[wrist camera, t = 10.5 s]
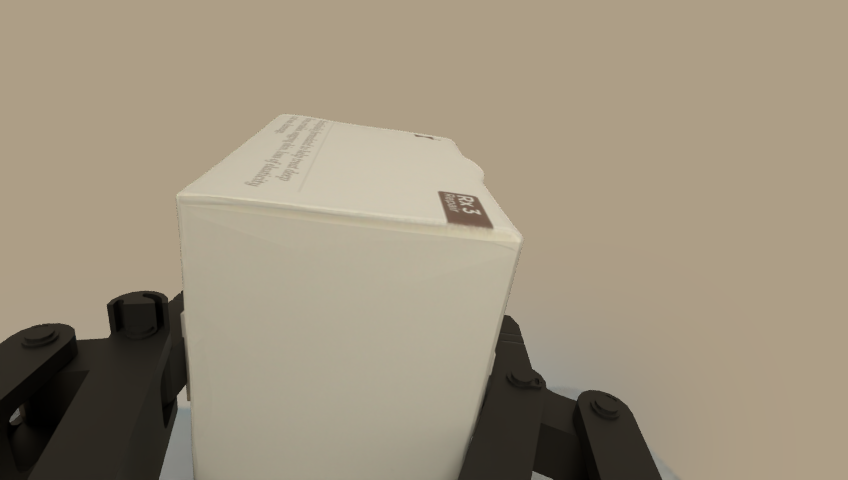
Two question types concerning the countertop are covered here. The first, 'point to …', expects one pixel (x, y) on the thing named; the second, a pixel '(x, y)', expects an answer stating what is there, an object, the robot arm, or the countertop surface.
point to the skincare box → (340, 304)
